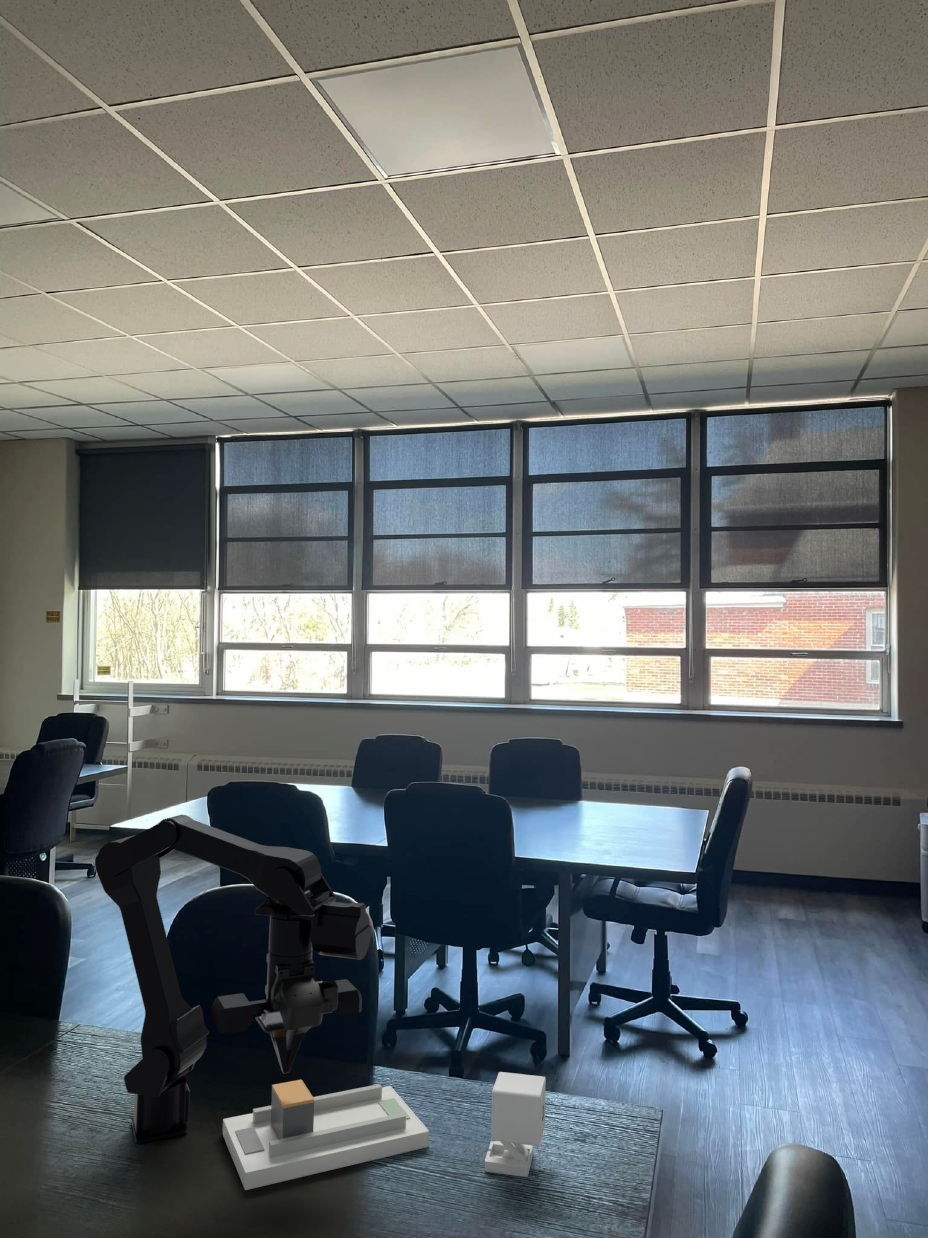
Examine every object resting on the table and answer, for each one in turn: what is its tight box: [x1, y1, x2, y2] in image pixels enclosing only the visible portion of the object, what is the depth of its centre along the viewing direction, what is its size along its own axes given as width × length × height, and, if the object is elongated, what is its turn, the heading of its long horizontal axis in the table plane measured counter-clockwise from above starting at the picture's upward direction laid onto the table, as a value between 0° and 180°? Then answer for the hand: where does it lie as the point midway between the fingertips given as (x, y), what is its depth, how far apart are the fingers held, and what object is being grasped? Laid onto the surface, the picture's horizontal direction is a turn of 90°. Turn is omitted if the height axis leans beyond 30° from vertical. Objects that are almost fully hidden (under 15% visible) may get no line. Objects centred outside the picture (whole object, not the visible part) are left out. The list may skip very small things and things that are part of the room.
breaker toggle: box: [270, 1079, 314, 1139], centre depth 115 cm, size 4×6×5 cm, turn 26°
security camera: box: [484, 1071, 547, 1178], centre depth 113 cm, size 6×7×10 cm
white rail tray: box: [222, 1083, 430, 1191], centre depth 117 cm, size 24×14×4 cm, turn 116°
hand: (285, 1072), depth 115 cm, fingers closed
